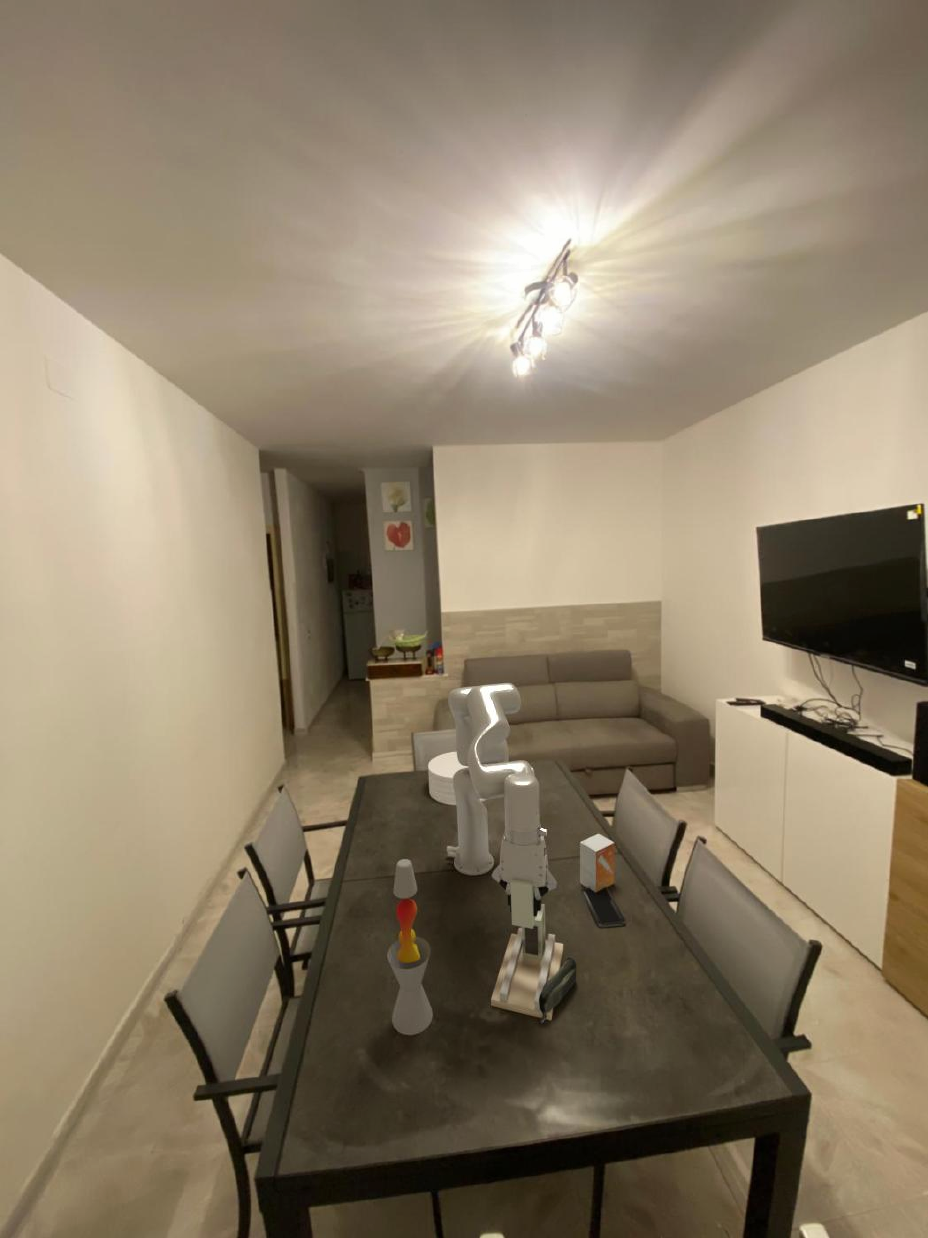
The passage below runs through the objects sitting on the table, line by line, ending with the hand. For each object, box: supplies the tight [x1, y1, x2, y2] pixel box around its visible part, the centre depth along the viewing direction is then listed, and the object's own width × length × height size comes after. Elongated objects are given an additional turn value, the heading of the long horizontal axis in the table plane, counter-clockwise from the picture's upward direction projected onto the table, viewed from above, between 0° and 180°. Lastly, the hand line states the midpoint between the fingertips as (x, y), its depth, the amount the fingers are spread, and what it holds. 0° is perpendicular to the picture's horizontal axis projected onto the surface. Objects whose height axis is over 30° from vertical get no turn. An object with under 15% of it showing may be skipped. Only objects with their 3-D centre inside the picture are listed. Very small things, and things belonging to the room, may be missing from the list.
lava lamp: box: [386, 858, 434, 1036], centre depth 105 cm, size 9×9×35 cm
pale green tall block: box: [511, 879, 536, 929], centre depth 111 cm, size 4×6×10 cm
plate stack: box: [427, 750, 488, 806], centre depth 212 cm, size 28×28×12 cm
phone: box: [581, 887, 626, 929], centre depth 138 cm, size 8×1×15 cm
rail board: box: [490, 903, 564, 1021], centre depth 116 cm, size 20×13×12 cm, turn 162°
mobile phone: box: [539, 957, 577, 1024], centre depth 110 cm, size 5×3×15 cm
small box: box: [579, 833, 615, 892], centre depth 147 cm, size 8×6×13 cm
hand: (524, 909), depth 111 cm, fingers closed on pale green tall block, 4 cm apart
